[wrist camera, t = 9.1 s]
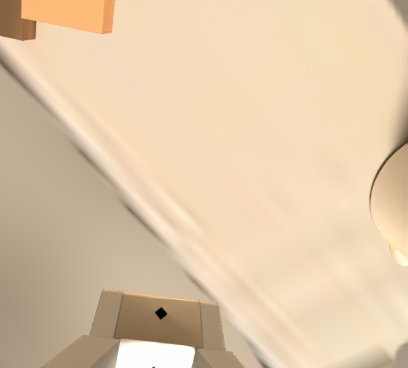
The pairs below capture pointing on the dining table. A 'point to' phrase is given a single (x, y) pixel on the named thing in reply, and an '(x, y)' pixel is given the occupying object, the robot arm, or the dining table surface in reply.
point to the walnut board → (15, 21)
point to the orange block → (72, 13)
